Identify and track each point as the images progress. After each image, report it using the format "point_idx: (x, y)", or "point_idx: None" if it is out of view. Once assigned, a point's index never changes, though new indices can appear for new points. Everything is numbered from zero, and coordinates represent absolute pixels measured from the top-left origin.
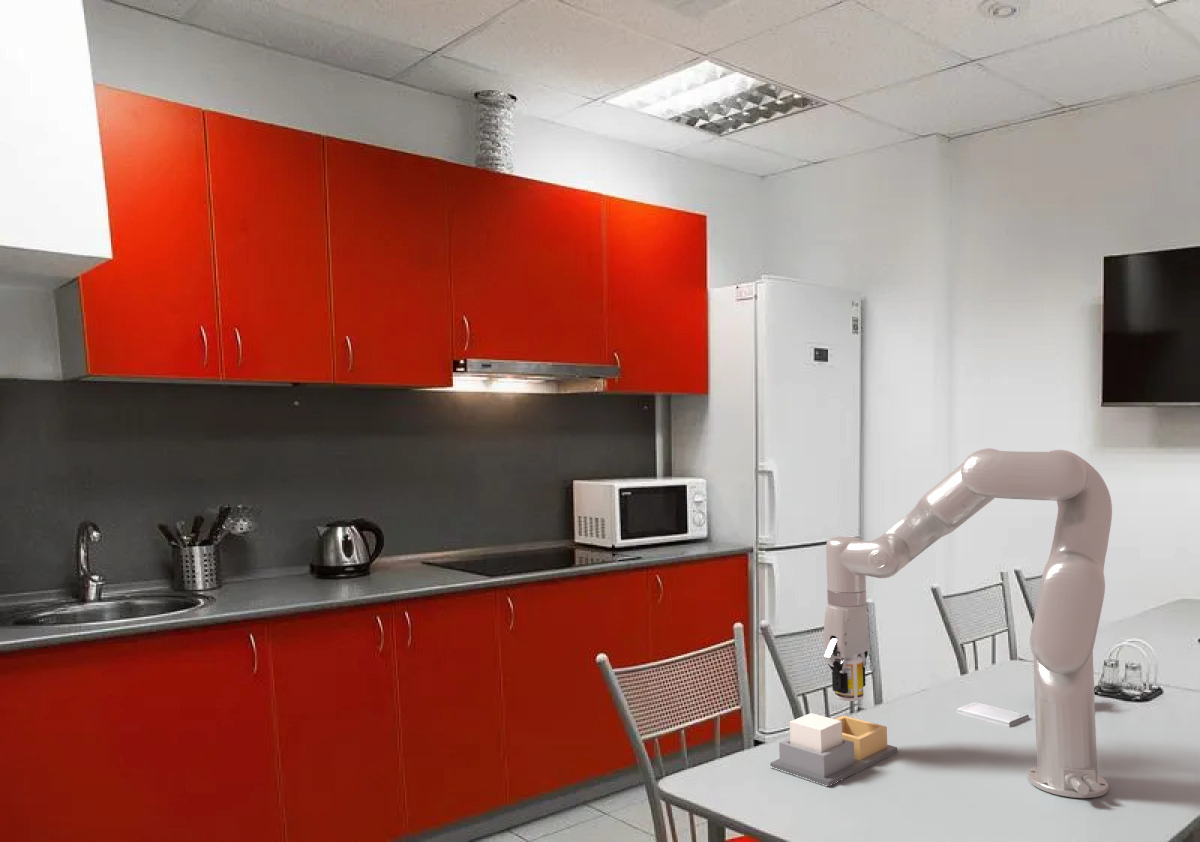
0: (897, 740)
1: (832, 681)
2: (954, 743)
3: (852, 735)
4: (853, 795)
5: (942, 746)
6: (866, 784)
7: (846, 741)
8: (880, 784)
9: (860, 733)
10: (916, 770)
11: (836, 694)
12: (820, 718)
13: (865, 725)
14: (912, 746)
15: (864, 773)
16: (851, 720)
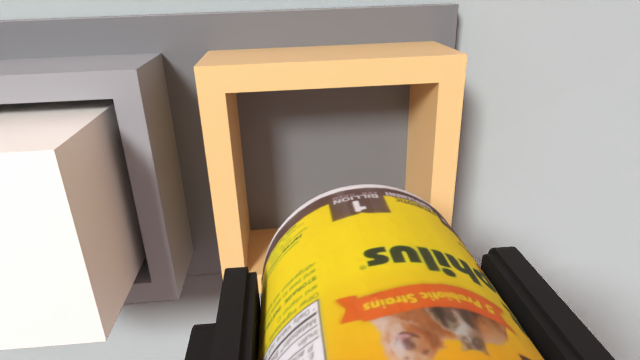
0: (544, 186)
1: (217, 315)
2: (617, 310)
3: (240, 254)
4: (22, 351)
5: (571, 302)
6: (121, 330)
7: (158, 279)
8: (158, 351)
9: (415, 150)
10: None
11: (273, 243)
12: (32, 249)
13: (426, 193)
14: (516, 248)
15: (188, 282)
16: (435, 120)
